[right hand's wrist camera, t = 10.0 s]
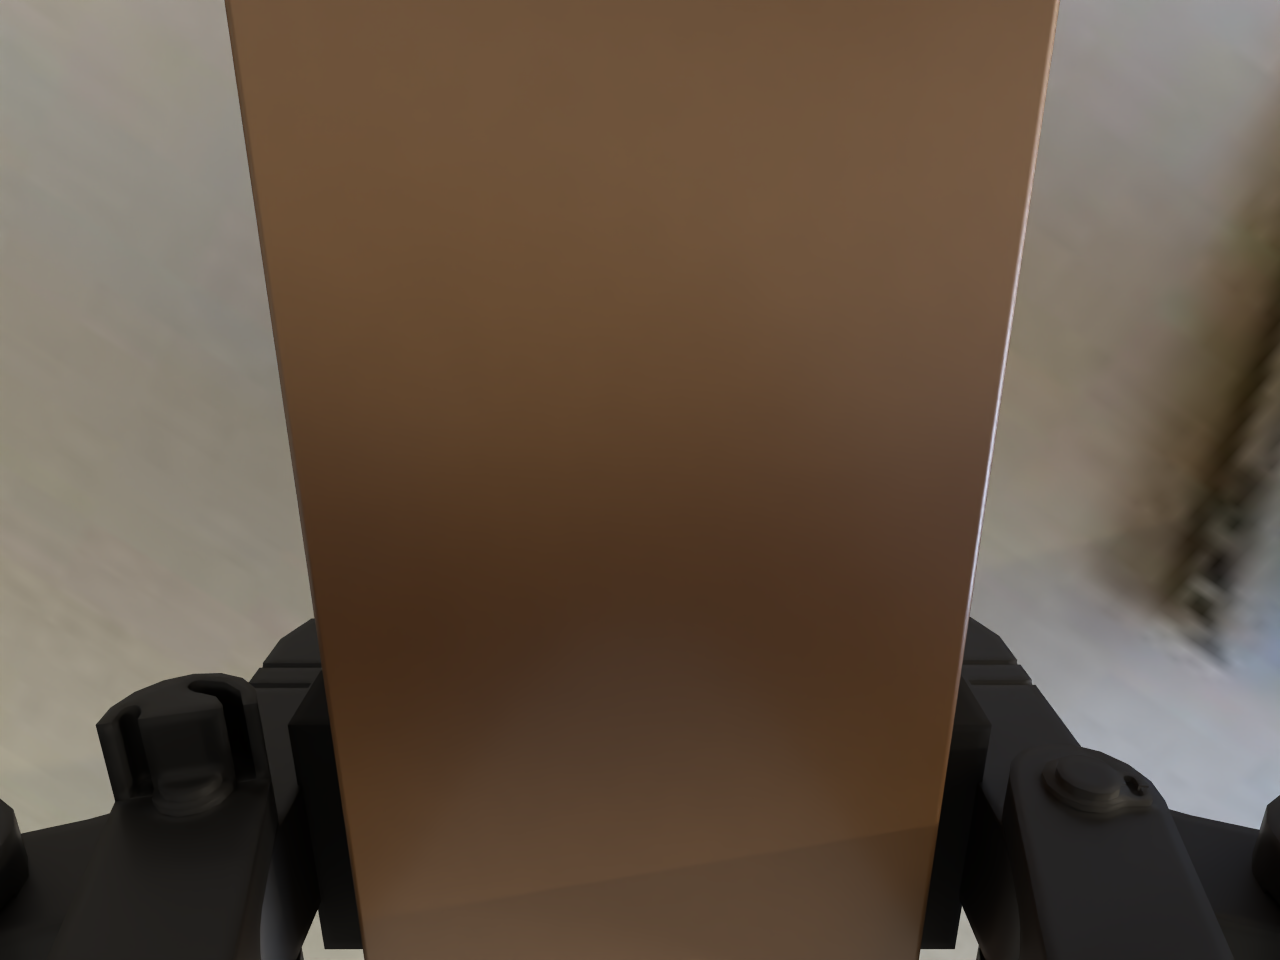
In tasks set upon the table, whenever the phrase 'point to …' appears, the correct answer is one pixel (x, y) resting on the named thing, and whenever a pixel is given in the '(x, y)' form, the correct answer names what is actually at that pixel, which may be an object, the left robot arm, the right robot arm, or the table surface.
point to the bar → (641, 447)
